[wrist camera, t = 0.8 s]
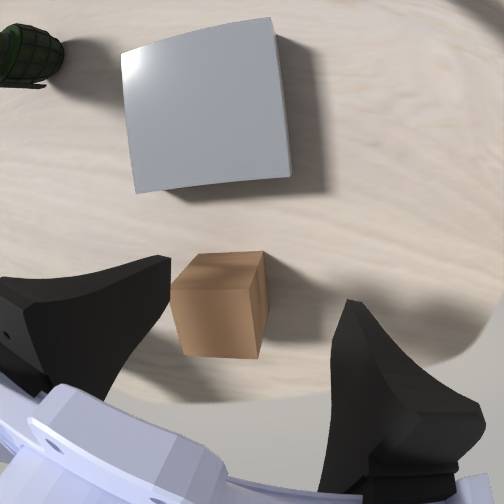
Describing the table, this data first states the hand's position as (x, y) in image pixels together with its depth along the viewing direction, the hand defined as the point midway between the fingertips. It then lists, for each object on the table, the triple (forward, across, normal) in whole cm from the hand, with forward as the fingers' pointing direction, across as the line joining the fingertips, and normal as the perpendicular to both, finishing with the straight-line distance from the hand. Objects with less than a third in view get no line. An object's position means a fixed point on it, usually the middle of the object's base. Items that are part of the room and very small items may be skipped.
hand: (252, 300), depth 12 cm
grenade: (+10, +23, -12) cm, 28 cm away
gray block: (+10, +6, -7) cm, 14 cm away
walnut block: (+10, +3, +5) cm, 12 cm away
